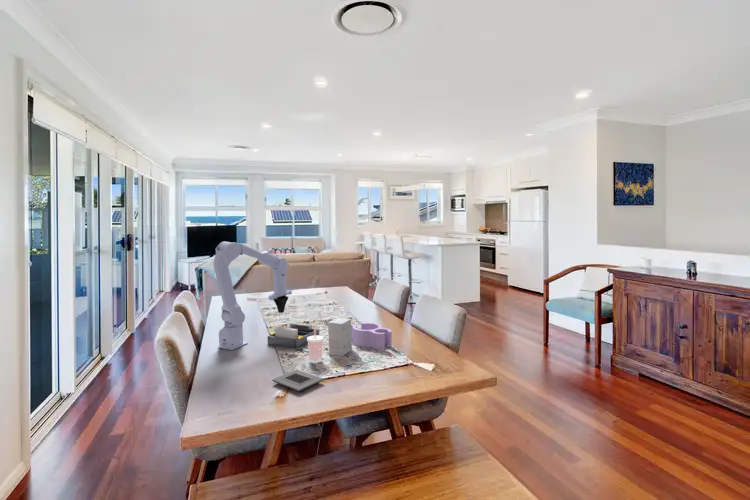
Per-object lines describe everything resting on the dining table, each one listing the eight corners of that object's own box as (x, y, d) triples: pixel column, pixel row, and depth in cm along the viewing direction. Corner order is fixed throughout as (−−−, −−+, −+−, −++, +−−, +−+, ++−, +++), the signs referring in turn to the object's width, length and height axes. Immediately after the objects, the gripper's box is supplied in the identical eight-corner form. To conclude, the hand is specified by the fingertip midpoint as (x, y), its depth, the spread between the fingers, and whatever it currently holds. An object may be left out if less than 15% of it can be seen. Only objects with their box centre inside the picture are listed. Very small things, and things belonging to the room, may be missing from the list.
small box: (338, 348, 169) (337, 317, 168) (352, 350, 166) (351, 318, 165) (328, 354, 161) (327, 322, 160) (342, 356, 159) (341, 323, 158)
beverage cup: (312, 357, 159) (311, 321, 157) (326, 359, 156) (325, 323, 155) (304, 362, 153) (303, 326, 152) (318, 364, 151) (317, 327, 149)
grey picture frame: (272, 385, 134) (271, 378, 134) (296, 375, 142) (296, 368, 142) (299, 396, 126) (298, 389, 126) (323, 384, 134) (323, 377, 134)
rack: (296, 348, 168) (296, 334, 168) (267, 344, 174) (267, 330, 174) (319, 337, 184) (319, 324, 183) (291, 333, 190) (291, 320, 189)
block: (294, 347, 171) (294, 330, 170) (275, 344, 175) (274, 328, 175) (298, 345, 173) (297, 329, 173) (278, 342, 177) (278, 326, 177)
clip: (398, 345, 171) (398, 329, 171) (376, 352, 163) (376, 336, 162) (366, 335, 186) (366, 320, 185) (345, 341, 178) (344, 326, 177)
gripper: (277, 286, 180) (278, 316, 181) (296, 281, 193) (297, 309, 194) (264, 285, 183) (265, 315, 184) (284, 280, 196) (285, 308, 197)
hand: (281, 312), depth 189 cm, fingers closed
